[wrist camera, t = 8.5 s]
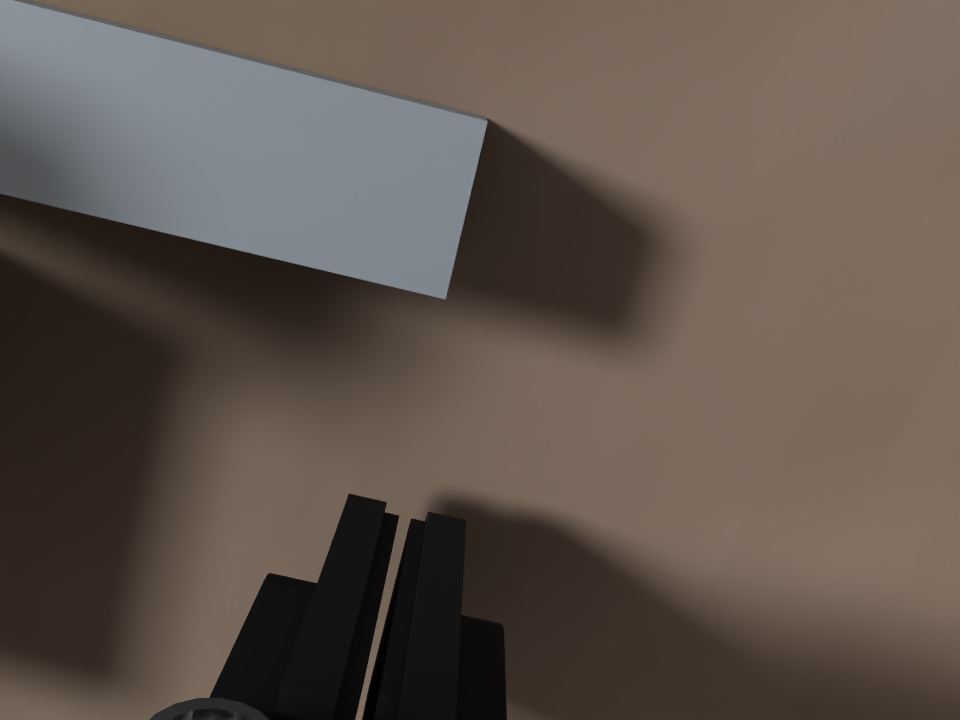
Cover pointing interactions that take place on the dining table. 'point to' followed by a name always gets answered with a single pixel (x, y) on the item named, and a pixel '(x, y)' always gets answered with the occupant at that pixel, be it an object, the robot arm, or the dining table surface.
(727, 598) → the dining table surface
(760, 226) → the dining table surface
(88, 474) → the dining table surface
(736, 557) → the dining table surface
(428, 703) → the robot arm
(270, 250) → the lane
